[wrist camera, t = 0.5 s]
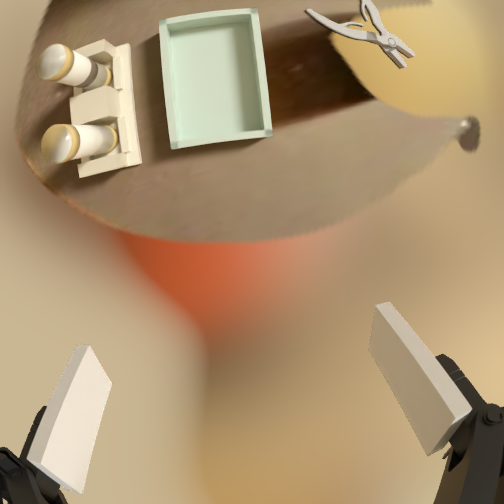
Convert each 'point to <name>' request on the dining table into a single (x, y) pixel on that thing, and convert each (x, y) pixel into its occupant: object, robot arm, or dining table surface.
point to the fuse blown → (72, 68)
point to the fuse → (77, 141)
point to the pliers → (370, 33)
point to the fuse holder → (109, 108)
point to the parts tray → (214, 77)
